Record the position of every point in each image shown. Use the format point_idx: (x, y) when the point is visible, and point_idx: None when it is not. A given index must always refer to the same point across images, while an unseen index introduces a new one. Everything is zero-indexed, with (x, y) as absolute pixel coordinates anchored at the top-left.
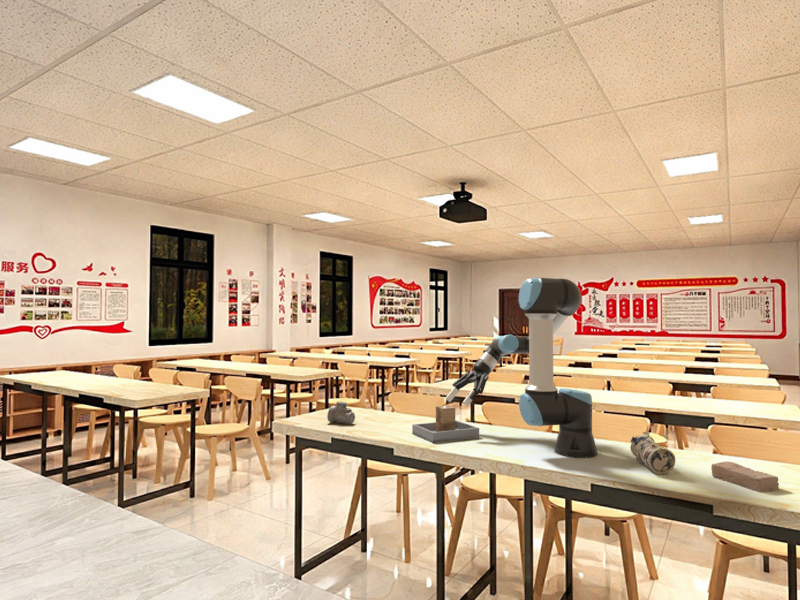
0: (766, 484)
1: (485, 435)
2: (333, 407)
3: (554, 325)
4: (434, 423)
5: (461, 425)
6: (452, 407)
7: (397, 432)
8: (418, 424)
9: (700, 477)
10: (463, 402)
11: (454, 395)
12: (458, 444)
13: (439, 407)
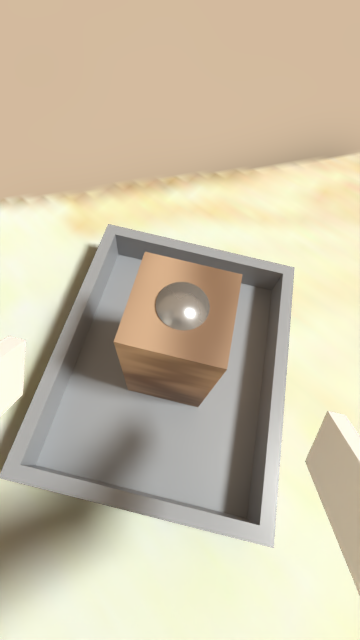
0: None
1: (26, 564)
2: None
3: None
4: (272, 369)
5: (183, 505)
6: (138, 334)
7: (327, 266)
8: (281, 286)
9: None
10: (13, 338)
11: (341, 533)
12: (25, 301)
13: (198, 267)
